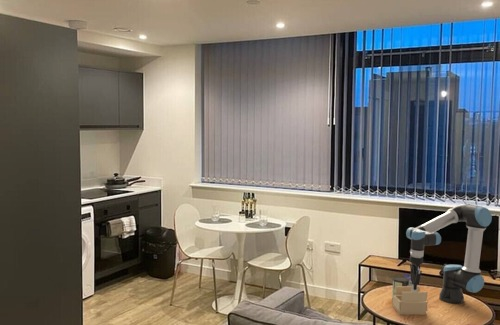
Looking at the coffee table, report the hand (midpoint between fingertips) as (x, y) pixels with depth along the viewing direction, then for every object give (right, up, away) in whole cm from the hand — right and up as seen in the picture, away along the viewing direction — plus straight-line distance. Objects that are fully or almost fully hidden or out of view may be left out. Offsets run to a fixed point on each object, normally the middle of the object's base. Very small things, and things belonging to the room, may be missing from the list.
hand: (413, 294), depth 300 cm
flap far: (0, -1, +11) cm, 11 cm away
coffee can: (0, -11, +27) cm, 29 cm away
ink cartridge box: (+6, -11, +36) cm, 38 cm away
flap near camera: (0, -1, 0) cm, 1 cm away
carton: (0, -12, +7) cm, 14 cm away
